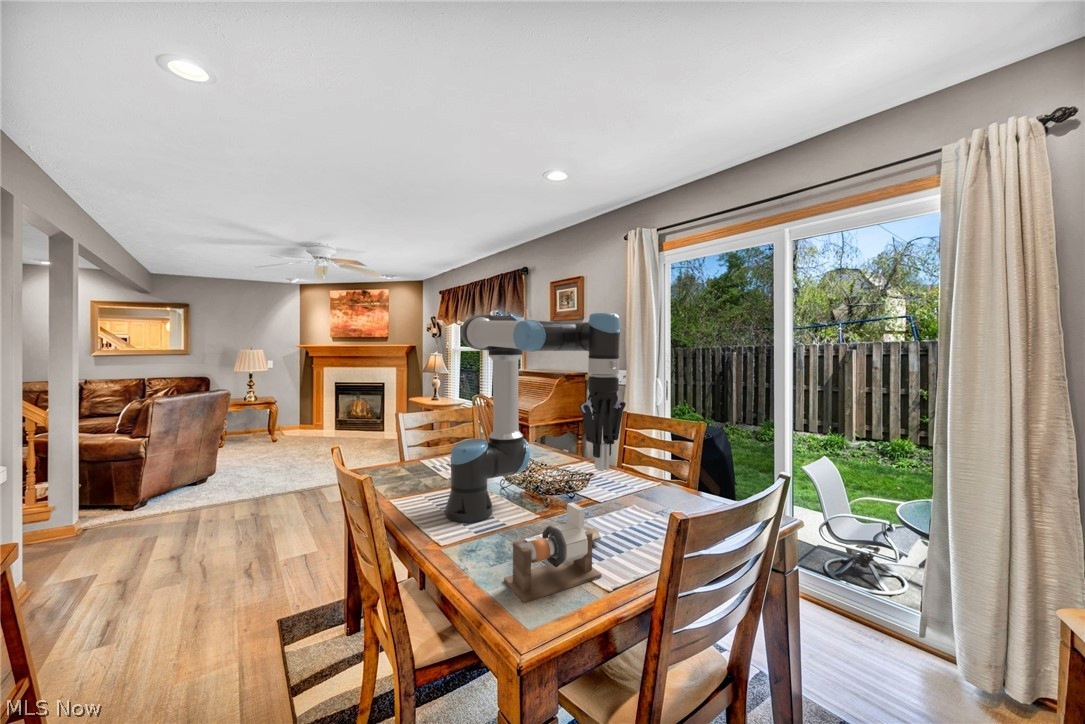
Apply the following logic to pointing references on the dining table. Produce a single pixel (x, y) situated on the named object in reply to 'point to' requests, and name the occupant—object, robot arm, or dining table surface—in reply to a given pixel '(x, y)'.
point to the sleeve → (573, 534)
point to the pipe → (552, 546)
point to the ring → (559, 542)
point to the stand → (548, 573)
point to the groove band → (541, 549)
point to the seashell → (595, 533)
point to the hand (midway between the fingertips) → (601, 469)
